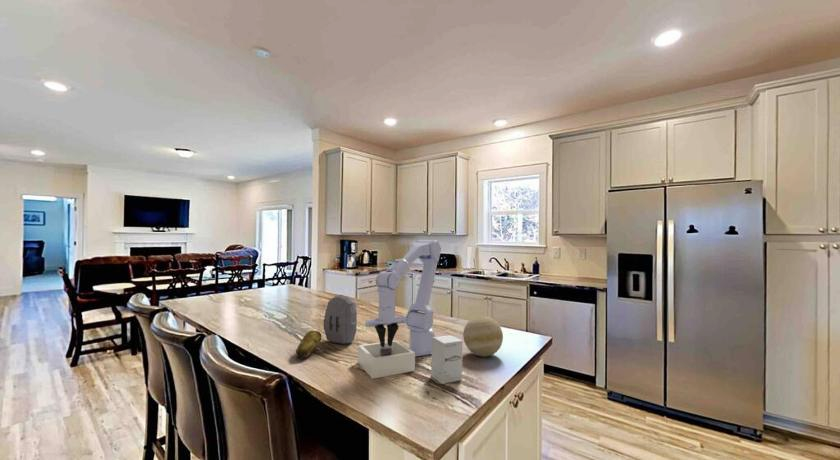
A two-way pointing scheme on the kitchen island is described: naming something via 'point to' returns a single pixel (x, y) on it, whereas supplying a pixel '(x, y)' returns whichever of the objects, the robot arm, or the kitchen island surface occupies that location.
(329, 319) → the small grey backpack
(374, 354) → the white square storage bin
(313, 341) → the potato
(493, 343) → the decorative ball
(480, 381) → the kitchen island surface
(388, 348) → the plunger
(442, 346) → the supplement box
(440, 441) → the kitchen island surface
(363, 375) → the kitchen island surface
